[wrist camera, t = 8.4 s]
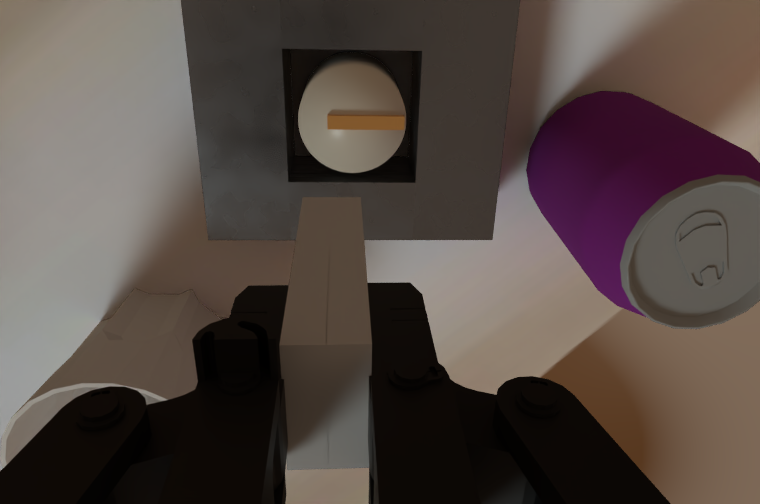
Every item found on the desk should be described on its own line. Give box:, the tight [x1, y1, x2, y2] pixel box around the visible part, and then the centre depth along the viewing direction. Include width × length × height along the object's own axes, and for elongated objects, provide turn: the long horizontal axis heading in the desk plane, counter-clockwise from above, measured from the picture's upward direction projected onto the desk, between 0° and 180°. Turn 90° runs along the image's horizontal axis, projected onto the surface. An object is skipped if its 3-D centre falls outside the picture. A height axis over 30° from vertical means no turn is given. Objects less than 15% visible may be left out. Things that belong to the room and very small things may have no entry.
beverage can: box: [526, 91, 760, 329], centre depth 28 cm, size 8×8×12 cm
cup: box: [0, 289, 222, 468], centre depth 33 cm, size 10×10×10 cm
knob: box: [298, 52, 406, 173], centre depth 29 cm, size 5×5×4 cm
